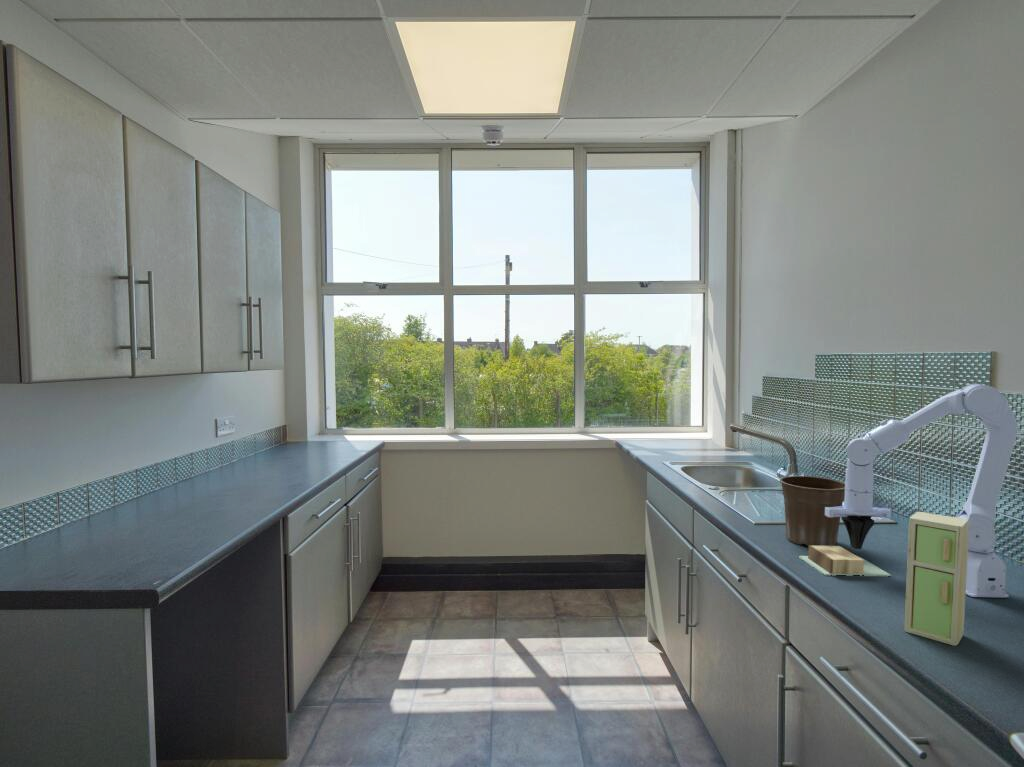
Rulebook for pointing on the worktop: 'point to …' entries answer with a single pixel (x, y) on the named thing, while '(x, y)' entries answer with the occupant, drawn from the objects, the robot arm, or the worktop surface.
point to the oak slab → (836, 559)
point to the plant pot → (811, 509)
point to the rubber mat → (867, 571)
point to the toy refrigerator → (936, 577)
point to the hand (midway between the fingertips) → (856, 547)
